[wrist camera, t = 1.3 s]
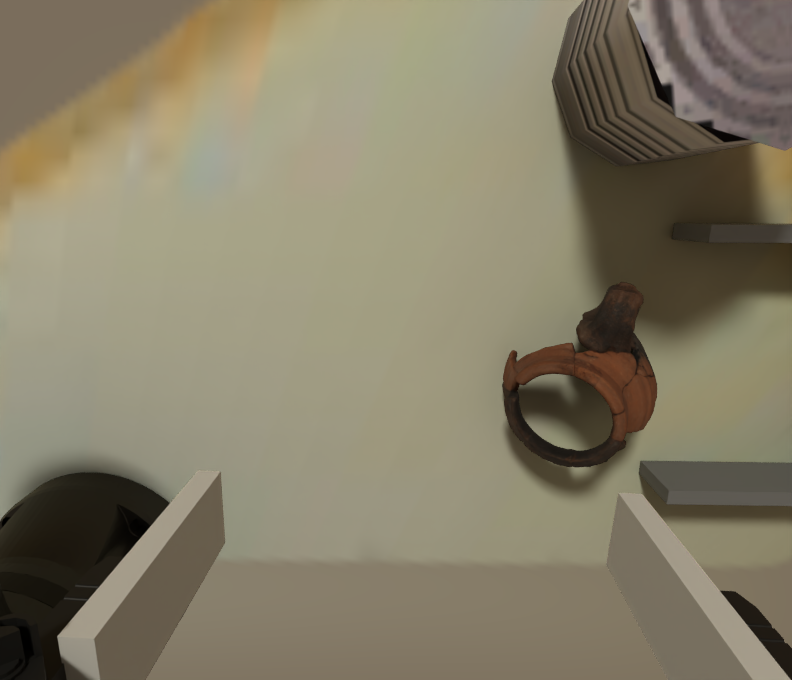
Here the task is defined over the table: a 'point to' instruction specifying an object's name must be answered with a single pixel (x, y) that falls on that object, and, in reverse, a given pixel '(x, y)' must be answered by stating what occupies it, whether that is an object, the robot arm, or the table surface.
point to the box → (723, 478)
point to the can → (676, 77)
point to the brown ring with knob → (592, 376)
